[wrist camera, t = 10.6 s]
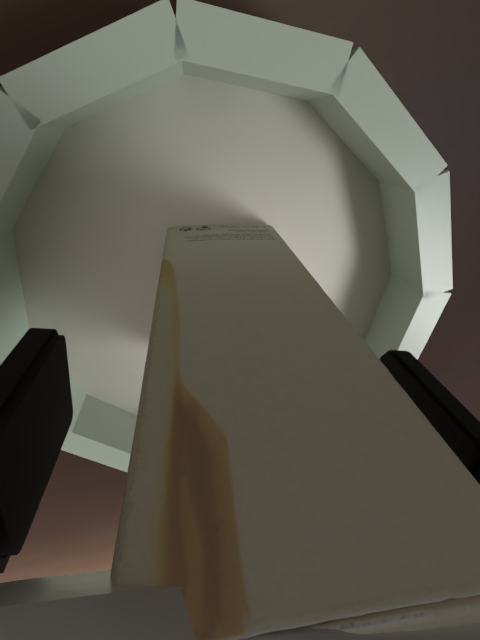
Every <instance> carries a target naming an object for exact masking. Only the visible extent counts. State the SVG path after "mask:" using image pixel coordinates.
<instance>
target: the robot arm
mask: <svg viewBox="0 0 480 640" xmlns="http://www.w3.org/2000/svg"><path fill="white" fill-rule="evenodd" d="M379 360H380V361H381V362H382V363H383V364H384V365H385V367H386V368H387V369H388V370H389V372H390V373H391V375H392V376H393V377H394V379H395V380H396V381H397V382H398V383H399V385H400V386H401V387H402V388H403V389H404V391H405V392H406V393H407V394H408V396H409V397H410V398H411V399H412V401H413V402H414V403H415V405H416V406H417V407H418V408H419V409H420V411H421V412H422V413H423V414H424V416H425V417H426V418H427V419H428V421H429V422H430V423H431V425H432V426H433V427H434V428H435V430H436V431H437V432H438V433H439V435H440V436H441V437H442V438H443V440H444V441H445V442H446V443H447V444H448V446H449V447H450V448H451V449H452V451H453V452H454V453H455V455H456V456H457V457H458V458H459V460H460V461H461V462H462V463H463V465H464V466H465V467H466V468H467V470H468V471H469V472H470V473H471V474H472V476H473V477H474V478H475V479H476V481H477V482H478V483H479V484H480V422H479V421H478V420H477V419H476V418H475V417H474V416H473V415H472V414H471V413H470V412H469V411H468V410H467V409H466V408H465V407H464V406H463V405H462V404H461V403H460V402H459V401H458V400H457V399H456V398H455V397H454V396H453V395H452V394H451V393H450V392H449V391H448V390H447V389H446V388H445V387H444V386H443V385H442V384H441V383H440V382H439V381H438V380H437V379H436V378H435V377H434V376H433V375H432V374H431V373H430V372H429V371H428V370H427V369H426V368H425V367H424V366H423V365H422V364H421V363H420V362H419V361H418V360H417V359H416V358H415V357H414V356H413V355H412V354H411V353H410V352H408V351H399V350H389V351H387V352H386V353H385V354H384V355H382V356H381V357H380V359H379ZM72 418H73V405H72V395H71V386H70V377H69V367H68V358H67V348H66V340H65V336H64V335H58V332H57V330H56V329H45V328H30V329H29V330H28V331H27V332H26V334H25V335H24V336H23V337H22V339H21V340H20V341H19V342H18V344H17V345H16V346H15V347H14V349H13V350H12V351H11V352H10V354H9V355H8V356H7V357H6V359H5V360H4V361H3V363H2V364H1V365H0V573H3V572H4V570H5V567H6V565H7V562H8V560H9V558H10V555H17V554H18V553H19V552H20V550H21V549H22V546H23V544H24V542H25V539H26V537H27V534H28V531H29V529H30V526H31V524H32V521H33V519H34V516H35V514H36V511H37V509H38V506H39V504H40V501H41V499H42V496H43V493H44V491H45V488H46V486H47V483H48V481H49V478H50V476H51V473H52V471H53V468H54V466H55V463H56V461H57V458H58V456H59V453H60V450H61V448H62V445H63V443H64V440H65V438H66V435H67V433H68V430H69V428H70V425H71V422H72ZM0 640H197V639H196V638H195V636H194V634H193V632H192V629H191V626H190V622H189V618H188V614H187V610H186V607H185V603H184V599H183V595H182V591H181V587H179V586H131V585H122V584H115V583H114V582H113V581H112V580H111V571H106V572H96V573H85V574H75V575H64V576H54V577H44V578H33V579H26V580H19V581H12V582H5V583H0ZM238 640H480V623H474V624H467V625H458V626H450V627H442V628H433V629H425V630H415V631H397V632H382V633H373V634H354V633H349V632H345V631H340V630H333V629H314V628H292V629H286V630H280V631H273V632H268V633H263V634H260V635H256V636H253V637H249V638H245V639H238Z"/></svg>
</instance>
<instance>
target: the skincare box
mask: <svg viewBox="0 0 480 640" xmlns="http://www.w3.org/2000/svg"><path fill="white" fill-rule="evenodd" d="M111 580H112V581H113V582H114V583H115V584H122V585H131V586H179V587H181V591H182V595H183V599H184V603H185V607H186V610H187V614H188V618H189V622H190V626H191V629H192V632H193V634H194V636H195V638H196V639H197V640H238V639H245V638H249V637H253V636H256V635H260V634H263V633H268V632H273V631H280V630H286V629H292V628H314V629H333V630H340V631H345V632H349V633H354V634H373V633H382V632H397V631H415V630H425V629H433V628H442V627H450V626H458V625H467V624H474V623H480V484H479V483H478V482H477V481H476V479H475V478H474V477H473V476H472V474H471V473H470V472H469V471H468V470H467V468H466V467H465V466H464V465H463V463H462V462H461V461H460V460H459V458H458V457H457V456H456V455H455V453H454V452H453V451H452V449H451V448H450V447H449V446H448V444H447V443H446V442H445V441H444V440H443V438H442V437H441V436H440V435H439V433H438V432H437V431H436V430H435V428H434V427H433V426H432V425H431V423H430V422H429V421H428V419H427V418H426V417H425V416H424V414H423V413H422V412H421V411H420V409H419V408H418V407H417V406H416V405H415V403H414V402H413V401H412V399H411V398H410V397H409V396H408V394H407V393H406V392H405V391H404V389H403V388H402V387H401V386H400V385H399V383H398V382H397V381H396V380H395V379H394V377H393V376H392V375H391V373H390V372H389V370H388V369H387V368H386V367H385V365H384V364H383V363H382V362H381V361H380V360H379V358H378V357H377V356H376V355H375V354H374V352H373V351H372V350H371V348H370V347H369V346H368V345H367V344H366V342H365V341H364V340H363V339H362V337H361V336H360V335H359V333H358V332H357V331H356V330H355V329H354V327H353V326H352V325H351V324H350V322H349V321H348V320H347V319H346V317H345V316H344V315H343V314H342V312H341V311H340V310H339V309H338V308H337V306H336V305H335V304H334V303H333V301H332V300H331V299H330V298H329V296H328V295H327V294H326V293H325V292H324V290H323V289H322V288H321V286H320V285H319V284H318V282H317V281H316V280H315V279H314V277H313V276H312V275H311V274H310V273H309V271H308V270H307V269H306V268H305V266H304V265H303V264H302V263H301V261H300V260H299V259H298V258H297V256H296V255H295V254H294V253H293V251H292V250H291V249H290V248H289V246H288V245H287V244H286V243H285V241H284V240H283V239H282V237H281V236H280V235H279V234H278V233H277V231H276V230H275V229H274V228H273V226H271V225H230V224H229V225H191V226H174V227H169V228H168V229H167V231H166V237H165V244H164V250H163V257H162V264H161V270H160V276H159V281H158V288H157V293H156V300H155V306H154V312H153V319H152V326H151V332H150V338H149V344H148V351H147V357H146V363H145V369H144V375H143V382H142V388H141V394H140V401H139V407H138V414H137V420H136V426H135V432H134V437H133V443H132V449H131V455H130V460H129V466H128V473H127V480H126V486H125V492H124V497H123V503H122V509H121V515H120V521H119V527H118V533H117V539H116V545H115V551H114V557H113V563H112V569H111Z"/></svg>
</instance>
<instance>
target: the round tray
mask: <svg viewBox="0 0 480 640" xmlns="http://www.w3.org/2000/svg"><path fill="white" fill-rule="evenodd" d="M352 45H353V42H350V41H347V40H343V39H339V38H335V37H331V36H327V35H324V34H320V33H316V32H312V31H308V30H305V29H301V28H297V27H293V26H289V25H286V24H282V23H278V22H274V21H270V20H267V19H263V18H259V17H255V16H251V15H248V14H244V13H240V12H236V11H232V10H229V9H225V8H221V7H217V6H213V5H210V4H206V3H202V2H198V1H194V0H177V6H176V18H175V15H174V12H173V9H172V7H171V4H170V1H169V0H160V1H158V2H156V3H154V4H152V5H150V6H148V7H145V8H143V9H141V10H139V11H137V12H135V13H133V14H131V15H129V16H126V17H124V18H122V19H120V20H118V21H116V22H114V23H112V24H110V25H108V26H105V27H103V28H101V29H99V30H97V31H95V32H93V33H91V34H89V35H86V36H84V37H82V38H80V39H78V40H76V41H74V42H72V43H70V44H68V45H65V46H63V47H61V48H59V49H57V50H55V51H53V52H51V53H49V54H46V55H44V56H42V57H40V58H38V59H36V60H34V61H32V62H30V63H28V64H25V65H23V66H21V67H19V68H17V69H15V70H13V71H11V72H9V73H7V74H4V75H2V76H0V83H1V85H2V86H3V87H2V86H0V365H1V364H2V363H3V361H4V360H5V359H6V357H7V356H8V355H9V354H10V352H11V351H12V350H13V349H14V347H15V346H16V345H17V344H18V342H19V341H20V340H21V339H22V337H23V336H24V335H25V334H26V332H27V331H28V330H29V329H30V328H45V329H56V330H57V332H58V335H64V336H65V340H66V348H67V358H68V367H69V377H70V386H71V395H72V405H73V418H72V422H71V425H70V428H69V430H68V433H67V435H66V438H65V440H64V443H63V445H62V448H61V450H63V451H66V452H69V453H72V454H75V455H78V456H81V457H84V458H87V459H90V460H92V461H95V462H98V463H101V464H104V465H107V466H110V467H113V468H116V469H119V470H122V471H125V472H128V466H129V460H130V455H131V449H132V443H133V437H134V432H135V426H136V420H137V414H138V407H139V401H140V394H141V388H142V382H143V375H144V369H145V363H146V357H147V351H148V344H149V338H150V332H151V326H152V319H153V312H154V306H155V300H156V293H157V288H158V281H159V276H160V270H161V264H162V257H163V250H164V244H165V237H166V231H167V229H168V228H169V227H174V226H191V225H229V224H230V225H271V226H273V228H274V229H275V230H276V231H277V233H278V234H279V235H280V236H281V237H282V239H283V240H284V241H285V243H286V244H287V245H288V246H289V248H290V249H291V250H292V251H293V253H294V254H295V255H296V256H297V258H298V259H299V260H300V261H301V263H302V264H303V265H304V266H305V268H306V269H307V270H308V271H309V273H310V274H311V275H312V276H313V277H314V279H315V280H316V281H317V282H318V284H319V285H320V286H321V288H322V289H323V290H324V292H325V293H326V294H327V295H328V296H329V298H330V299H331V300H332V301H333V303H334V304H335V305H336V306H337V308H338V309H339V310H340V311H341V312H342V314H343V315H344V316H345V317H346V319H347V320H348V321H349V322H350V324H351V325H352V326H353V327H354V329H355V330H356V331H357V332H358V333H359V335H360V336H361V337H362V339H363V340H364V341H365V342H366V344H367V345H368V346H369V347H370V348H371V350H372V351H373V352H374V354H375V355H376V356H377V357H378V358H379V359H380V357H381V356H382V355H384V354H385V353H386V352H387V351H389V350H399V351H408V352H410V353H411V354H412V355H413V356H414V357H415V358H416V359H417V360H418V358H419V356H420V354H421V352H422V350H423V348H424V346H425V344H426V342H427V340H428V339H429V337H430V335H431V333H432V331H433V329H434V327H435V325H436V323H437V321H438V319H439V317H440V315H441V313H442V311H443V309H444V307H445V305H446V303H447V301H448V299H449V297H450V296H451V294H452V293H450V292H448V290H451V289H453V279H452V243H451V206H450V171H446V170H444V169H445V168H446V166H447V164H446V162H445V161H444V160H443V158H442V157H441V156H440V154H439V153H438V152H437V150H436V149H435V147H434V146H433V145H432V143H431V142H430V141H429V139H428V138H427V137H426V135H425V134H424V133H423V131H422V130H421V129H420V127H419V126H418V125H417V123H416V122H415V121H414V119H413V118H412V117H411V115H410V114H409V112H408V111H407V110H406V108H405V107H404V106H403V104H402V103H401V102H400V100H399V99H398V98H397V96H396V95H395V94H394V92H393V91H392V90H391V88H390V87H389V86H388V84H387V83H386V82H385V80H384V79H383V77H382V76H381V75H380V73H379V72H378V71H377V69H376V68H375V67H374V65H373V64H372V63H371V61H370V60H369V59H368V57H367V56H366V55H365V53H364V52H363V51H362V49H361V48H360V47H358V48H356V49H354V50H352V51H351V49H352Z"/></svg>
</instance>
